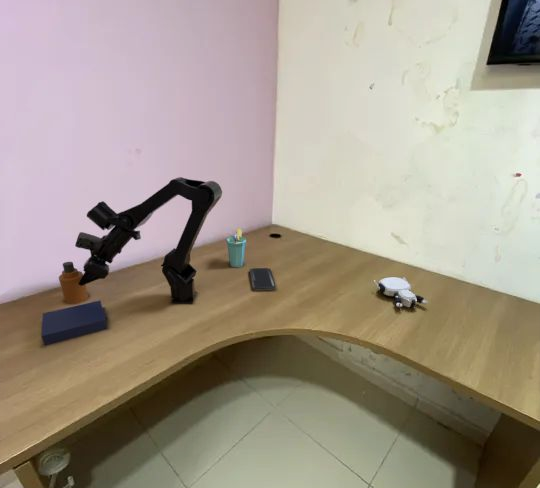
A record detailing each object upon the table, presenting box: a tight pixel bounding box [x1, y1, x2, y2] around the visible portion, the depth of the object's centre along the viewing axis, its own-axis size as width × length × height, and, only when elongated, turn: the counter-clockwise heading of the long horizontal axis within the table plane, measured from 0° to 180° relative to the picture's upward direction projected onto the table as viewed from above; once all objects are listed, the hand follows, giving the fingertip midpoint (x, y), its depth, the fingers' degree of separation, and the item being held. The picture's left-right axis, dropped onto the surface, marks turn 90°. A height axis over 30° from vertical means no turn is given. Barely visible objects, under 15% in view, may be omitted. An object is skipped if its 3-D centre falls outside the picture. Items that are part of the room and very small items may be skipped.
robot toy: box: [373, 276, 429, 308], centre depth 104 cm, size 12×4×15 cm
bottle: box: [58, 261, 89, 305], centre depth 94 cm, size 6×6×12 cm
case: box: [41, 300, 108, 346], centre depth 84 cm, size 15×11×3 cm
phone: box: [249, 267, 276, 292], centre depth 112 cm, size 8×1×15 cm
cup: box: [225, 227, 247, 268], centre depth 119 cm, size 14×8×15 cm, turn 1°
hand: (82, 277), depth 94 cm, fingers open, 9 cm apart
